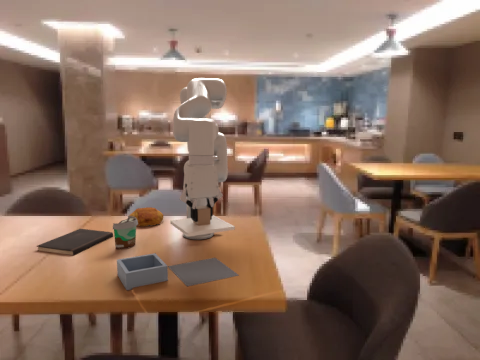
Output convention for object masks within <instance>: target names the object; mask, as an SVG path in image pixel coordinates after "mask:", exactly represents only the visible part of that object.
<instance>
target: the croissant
mask: <svg viewBox="0 0 480 360" xmlns="http://www.w3.org/2000/svg"><path fill="white" fill-rule="evenodd" d="M128 216H133V217H136V219H137V221H138V225H137V226H136V227H149V226H148V225H154V226H156V224H159V225H161V223H162V222H163V220H164V214H163V213H162V212H161V211H160V210H158V209H157V208H155V207H138V208H136V209H135V210H134V211H133V212H131V213H130V214H129V215H128Z"/></svg>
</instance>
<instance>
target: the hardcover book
mask: <svg viewBox="0 0 480 360" xmlns="http://www.w3.org/2000/svg"><path fill="white" fill-rule="evenodd" d="M113 237H114V232H112V231H104V230H95V229H87V228H86V229H85V228H78V229H76V230H74V231H71V232H68V233H65V234H63V235H61V236H58V237H56V238H53V239H51V240H48V241H45V242H43V243H40V244H37V245H36V248H37V250H38V251H40V252H49V253H55V254H61V255H62V254H64V255H70V256H75V255H77V254H80V253H82V252H84V251H86V250H88V249H90V248H92V247H94V246H97V245H99V244H100V243H102V242H105V241H107V240H109V239H111V238H113Z"/></svg>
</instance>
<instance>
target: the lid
mask: <svg viewBox="0 0 480 360" xmlns="http://www.w3.org/2000/svg"><path fill="white" fill-rule="evenodd" d="M196 209H197V210H198V221H197V222H195V221H193V220H192V219H191V218H187V217H186V218H180V219H179V218H178V219H173V220H170V222H169V224H170V225H171V226H173V227H174V228H175V229H177V230H179V231H180V232H181V233H182V234H183V233H184V234H185V235H187V236H188V237H189V236H196V235H202V234H209V233H214V234H216V233H221V232H229V231H234V230H235V229H236V228H235V227H236V226H235V225H233V224H231V223H230V222H227V221H226V220H224V219H222V218H219V217H218V216H215V215H214V214H213V216H212V220H210V208H209V207H207V206H197V207H196Z"/></svg>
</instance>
